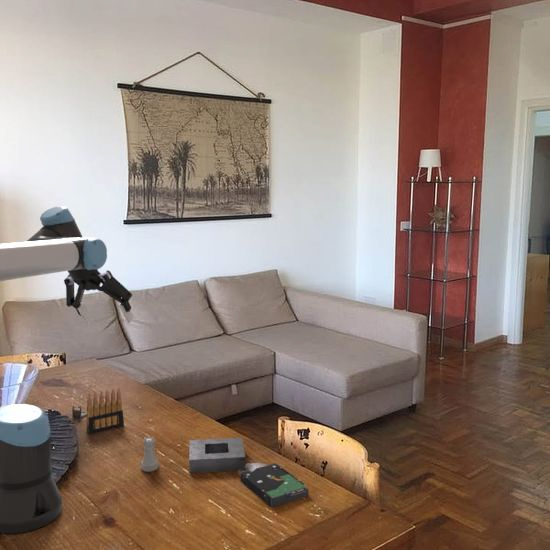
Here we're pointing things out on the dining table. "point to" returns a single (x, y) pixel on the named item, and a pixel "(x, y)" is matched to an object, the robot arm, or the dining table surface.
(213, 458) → the grey square-hole block
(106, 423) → the ammunition clip
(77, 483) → the dining table surface
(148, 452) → the rook chess piece
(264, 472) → the disk drive
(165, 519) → the dining table surface
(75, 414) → the strap clip
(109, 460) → the dining table surface
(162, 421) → the dining table surface
